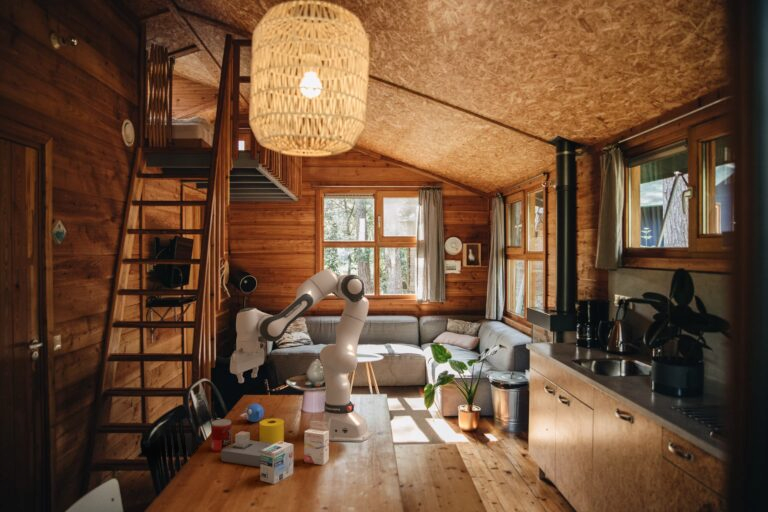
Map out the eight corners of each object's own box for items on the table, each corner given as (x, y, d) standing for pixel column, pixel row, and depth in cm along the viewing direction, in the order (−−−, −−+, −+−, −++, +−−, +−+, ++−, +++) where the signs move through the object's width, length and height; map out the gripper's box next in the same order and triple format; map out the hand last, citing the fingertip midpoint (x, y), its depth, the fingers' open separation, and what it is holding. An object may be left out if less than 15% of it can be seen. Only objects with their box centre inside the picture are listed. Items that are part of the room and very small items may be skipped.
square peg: (249, 455, 193) (249, 432, 193) (243, 458, 189) (244, 435, 189) (241, 453, 194) (241, 431, 194) (235, 457, 190) (235, 434, 190)
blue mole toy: (234, 422, 234) (234, 404, 234) (256, 416, 242) (256, 399, 242) (245, 428, 225) (245, 409, 225) (268, 422, 233) (268, 405, 233)
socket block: (284, 455, 193) (284, 444, 193) (266, 467, 180) (266, 457, 181) (241, 448, 199) (241, 439, 199) (221, 460, 187) (221, 450, 187)
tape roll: (272, 438, 211) (272, 416, 212) (288, 443, 206) (288, 421, 206) (254, 445, 203) (254, 422, 203) (270, 450, 197) (270, 427, 198)
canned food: (225, 452, 195) (225, 425, 195) (207, 451, 197) (207, 424, 197) (234, 446, 202) (235, 419, 203) (217, 444, 204) (217, 418, 204)
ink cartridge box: (303, 462, 186) (303, 423, 186) (309, 457, 190) (309, 419, 191) (323, 465, 183) (323, 426, 183) (329, 460, 187) (329, 422, 188)
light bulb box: (273, 485, 166) (274, 453, 167) (259, 480, 170) (259, 449, 170) (294, 473, 176) (294, 443, 176) (280, 469, 179) (280, 440, 179)
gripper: (239, 351, 192) (239, 386, 192) (266, 343, 212) (267, 374, 211) (225, 351, 194) (226, 385, 194) (254, 342, 213) (254, 374, 213)
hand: (247, 379), depth 203 cm, fingers open, 8 cm apart
